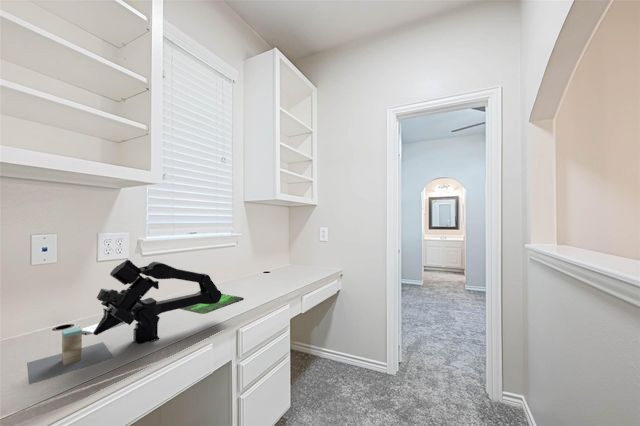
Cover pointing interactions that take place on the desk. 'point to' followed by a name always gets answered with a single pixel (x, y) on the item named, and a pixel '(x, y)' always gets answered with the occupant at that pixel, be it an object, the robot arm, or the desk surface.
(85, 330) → the external hard drive
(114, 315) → the robot arm
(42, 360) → the rubber mat
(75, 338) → the birch block
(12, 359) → the desk surface
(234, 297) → the mouse mat
